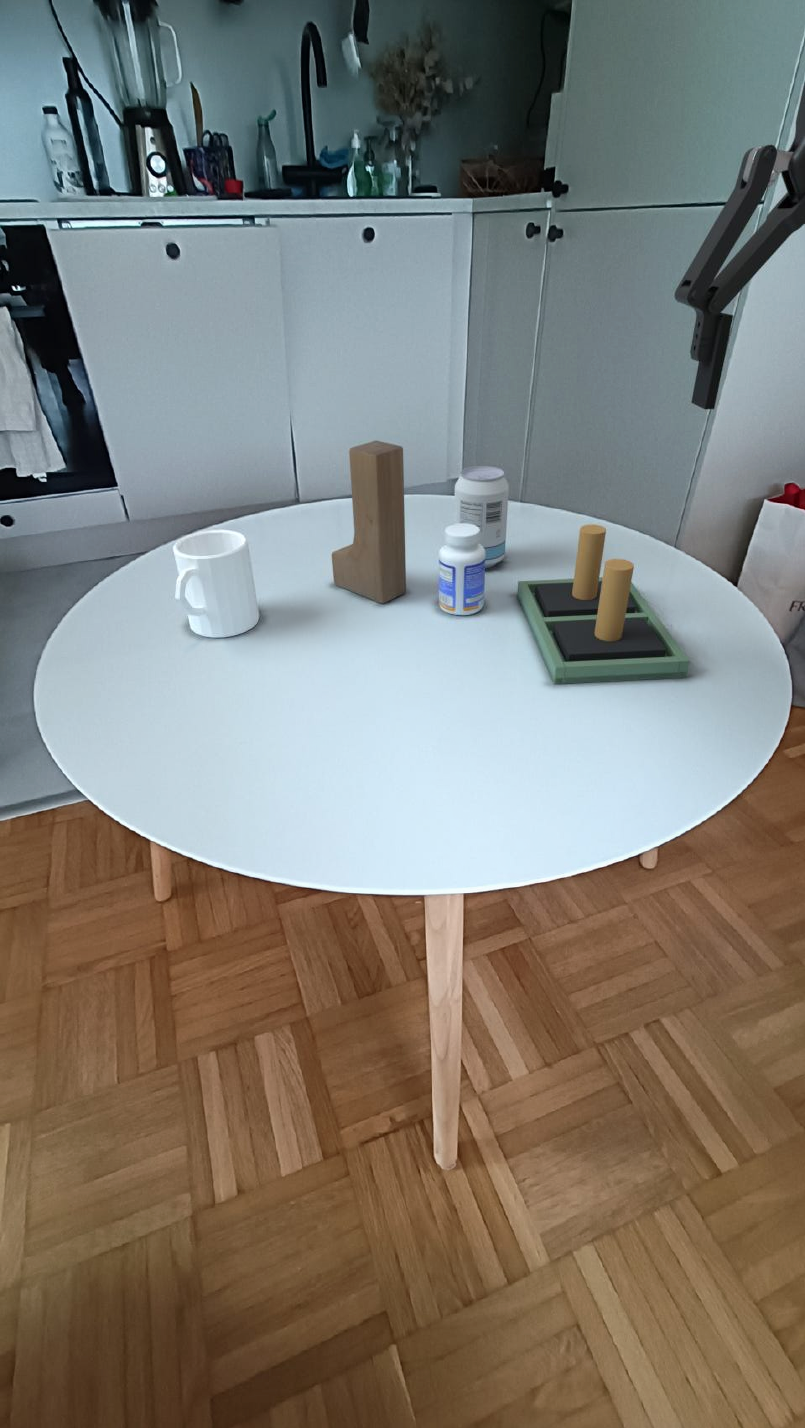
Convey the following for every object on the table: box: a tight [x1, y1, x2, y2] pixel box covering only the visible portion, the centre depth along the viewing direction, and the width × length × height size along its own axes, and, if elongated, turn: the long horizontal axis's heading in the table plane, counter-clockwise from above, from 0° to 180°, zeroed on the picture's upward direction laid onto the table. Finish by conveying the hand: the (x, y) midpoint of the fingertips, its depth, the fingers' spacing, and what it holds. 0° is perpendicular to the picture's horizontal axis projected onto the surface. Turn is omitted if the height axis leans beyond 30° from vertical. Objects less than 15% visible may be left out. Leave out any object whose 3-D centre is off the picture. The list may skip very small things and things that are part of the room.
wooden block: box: [331, 440, 407, 604], centre depth 86 cm, size 9×4×18 cm, turn 47°
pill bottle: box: [438, 523, 486, 616], centre depth 84 cm, size 5×5×10 cm
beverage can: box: [453, 465, 510, 569], centre depth 94 cm, size 7×7×12 cm
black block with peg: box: [535, 524, 636, 617], centre depth 82 cm, size 7×10×10 cm
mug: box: [172, 529, 260, 639], centre depth 81 cm, size 8×12×10 cm
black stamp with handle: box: [552, 558, 666, 662], centre depth 74 cm, size 7×10×10 cm
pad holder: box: [516, 576, 691, 685], centre depth 80 cm, size 20×14×2 cm
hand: (784, 402), depth 58 cm, fingers open, 13 cm apart
